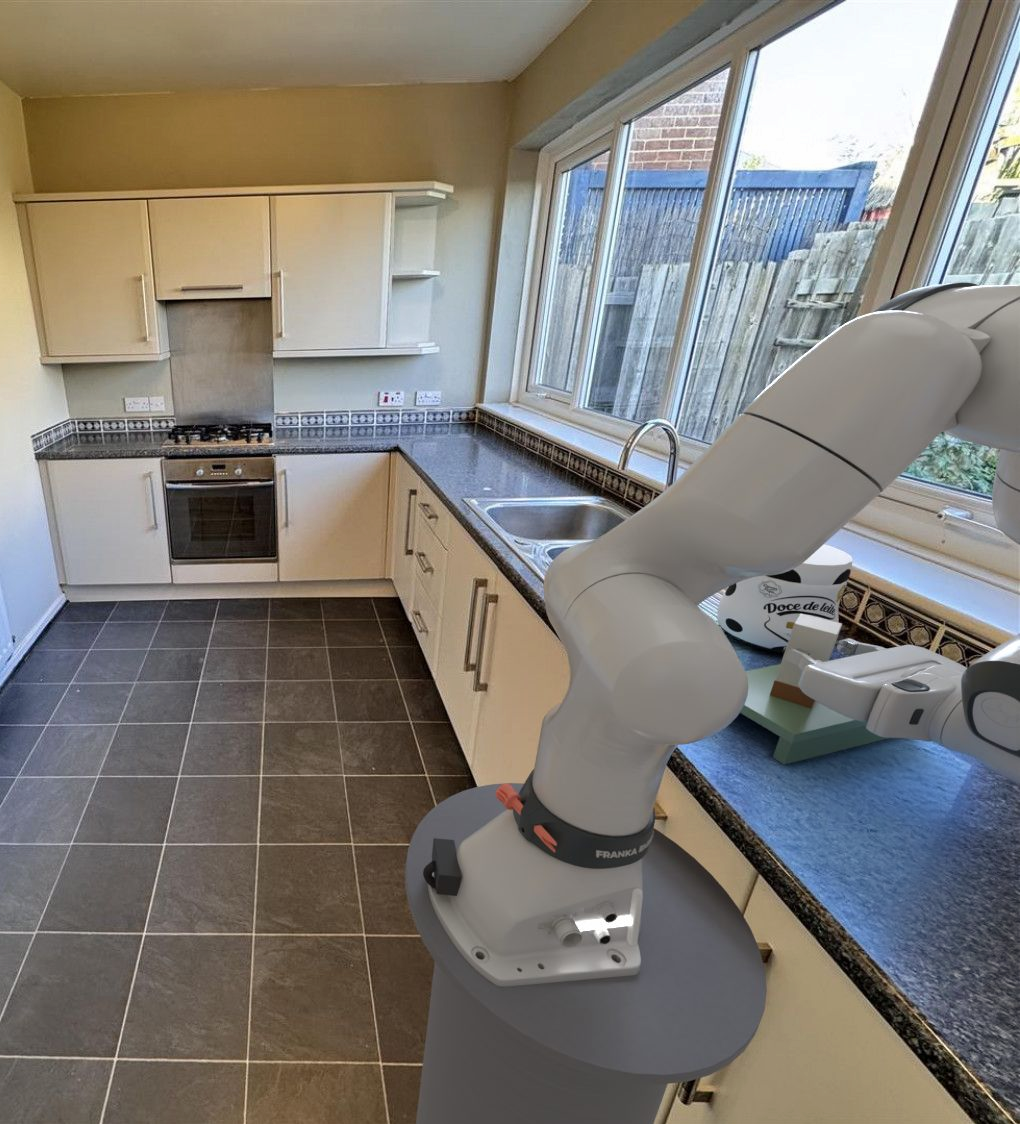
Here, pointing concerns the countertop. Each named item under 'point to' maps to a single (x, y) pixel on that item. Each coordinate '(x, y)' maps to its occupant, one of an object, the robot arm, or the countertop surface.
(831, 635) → the grey-brown block
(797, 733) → the shoe shelf
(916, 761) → the countertop surface
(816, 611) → the doce de leite container
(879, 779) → the countertop surface
